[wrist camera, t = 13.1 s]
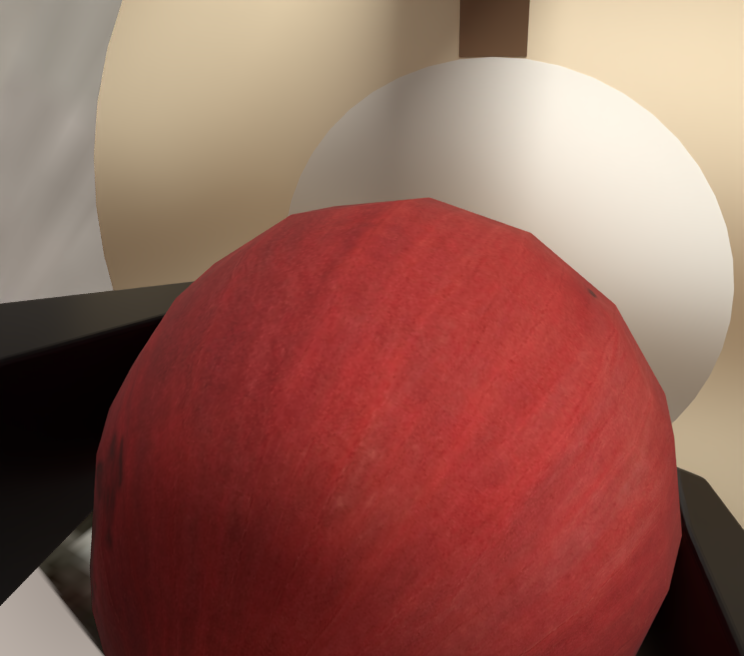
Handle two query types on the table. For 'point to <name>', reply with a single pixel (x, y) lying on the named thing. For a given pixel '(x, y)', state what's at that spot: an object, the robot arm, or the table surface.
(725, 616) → the robot arm
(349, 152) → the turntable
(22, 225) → the table surface
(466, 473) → the onion
